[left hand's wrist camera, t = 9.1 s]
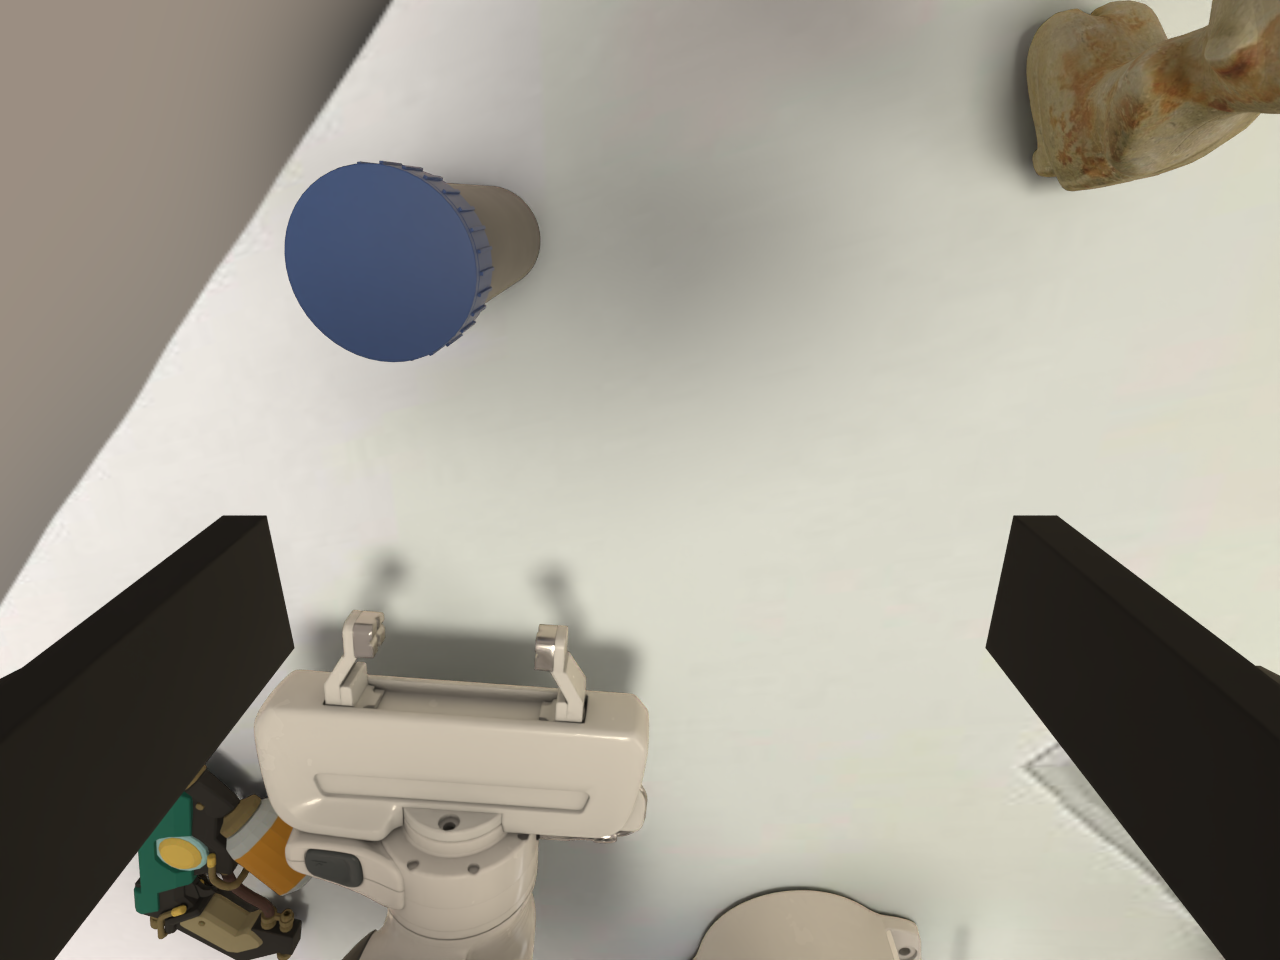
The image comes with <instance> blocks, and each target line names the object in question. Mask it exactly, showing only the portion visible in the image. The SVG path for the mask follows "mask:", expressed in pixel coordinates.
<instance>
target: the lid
mask: <svg viewBox="0 0 1280 960" xmlns="http://www.w3.org/2000/svg"><path fill="white" fill-rule="evenodd" d="M379 162H380V164H377V163H368V162H357V164H352V165H348V166H343V167H340V168H337V169H335V170H333V171H330V172H329V173H327V174H325V175H324V176H322V177H320V178H319V179H318V180H316V181H315V182H314V183H313V184H312V185H310V186H309V188H308V189H307V190H306V191H305V192H304V193H303V194H302V196H301V197H300V199H299V200H298V202H297V203H296V205H295V207H294V209H293V212H292V214H291V216H290V219H289V223H288V226H287V230H286V237H285V262H286V269H287V273H288V277H289V281H290V284H291V287H292V289H293V292H294V294H295V296H296V298H297V300H298V302H299V304H300V306H301V307H302V309H303V310H304V312H305V313H306V315H307V316H308V317H309V319H310V320H311V321H312V322H313V324H314V325H315V326H316V327H317V328H318V329H319V330H320V331H321V332H322V333H323V334H324V335H325V336H327V337H328V338H329V339H331V340H332V341H333V342H334V343H336V344H338V345H339V346H341V347H342V348H344V349H346V350H348V351H350V352H352V353H354V354H356V355H359V356H362V357H365V358H368V359H372V360H377V361H384V362H404V361H412V360H415V359H418V358H421V357H424V356H427V355H430V356H431V355H433V354H434V353H436V352H437V351H438V350H440V349H441V348H443V347H444V346H445V345H446V346H447V347H448V346H449V345H450V344H452V343H453V342H454V341H456V340H457V339H458V338H460V337H461V336H462V333H463V332H465V331H466V330H467V329H469V328H470V327H471V326H473V325H474V324H475V323H476V322H475V321H474V320H475V319H476V318H477V316H478V315H479V313H480V312H481V311H482V310H484V309H485V308H486V306H485V305H484V304H485V302H486V299H487V297H488V293H489V292H490V291H492V287H490V286H491V278H492V271H494V267H492V258H491V250H492V246H489V242H488V238H487V236H486V233H485V230H484V229H486V227H485V225H483V226H482V224H481V222H480V220H479V218H478V216H477V215H476V213H475V212H474V210H475V208H474V206H470V205H469V203H468V202H467V201H466V200H465V199H464V198H463V197H462V196H461V195H460V191H459V190H458V189H454V188H452V187H451V186H450V185H448V184H447V183H445V182H444V181H442V179H443V178H442V177H441V176H433V175H431V174H429V173H426V172H424V171H423V168H421V167H414V166H406V165H402V164H401V163H394V162H386V161H379Z"/></svg>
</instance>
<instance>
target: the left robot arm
mask: <svg viewBox="0 0 1280 960" xmlns="http://www.w3.org/2000/svg"><path fill="white" fill-rule="evenodd" d="M293 649H294V643H293V638H292V634H291V629H290V624H289V619H288V615H287V610H286V605H285V601H284V596H283V591H282V586H281V582H280V577H279V572H278V568H277V563H276V558H275V553H274V549H273V544H272V539H271V535H270V530H269V525H268V520H267V516H222V517H220V518H219V519H218V520H216V521H215V522H214V523H212V524H211V525H210V526H208V527H207V528H206V529H205V530H203V531H202V532H201V533H199V534H198V535H197V536H195V537H194V538H193V539H191V540H190V541H189V542H187V543H186V544H185V545H183V546H182V547H181V548H179V549H178V550H177V551H175V552H174V553H173V554H172V555H170V556H169V557H168V558H166V559H165V560H164V561H162V562H161V563H160V564H158V565H157V566H156V567H154V568H153V569H152V570H150V571H149V572H148V573H146V574H145V575H144V576H143V577H141V578H140V579H139V580H137V581H136V582H135V583H133V584H132V585H131V586H129V587H128V588H127V589H125V590H124V591H123V592H121V593H120V594H119V595H117V596H116V597H115V598H113V599H112V600H111V601H110V602H108V603H107V604H106V605H104V606H103V607H102V608H100V609H99V610H98V611H96V612H95V613H94V614H92V615H91V616H90V617H88V618H87V619H86V620H84V621H83V622H82V623H81V624H79V625H78V626H77V627H75V628H74V629H73V630H71V631H70V632H69V633H67V634H66V635H65V636H63V637H62V638H61V639H59V640H58V641H57V642H55V643H54V644H53V645H51V646H50V647H49V648H48V649H46V650H45V651H44V652H42V653H41V654H40V655H38V656H37V657H36V658H34V659H33V660H32V661H30V662H29V663H28V664H26V665H25V666H24V667H22V668H21V669H19V670H17V671H15V672H13V673H11V674H9V675H7V676H5V677H3V678H1V679H0V960H54V959H55V958H56V957H57V956H58V954H59V953H60V952H61V950H62V949H63V948H64V946H65V945H66V944H67V943H68V941H69V940H70V939H71V937H72V936H73V935H74V934H75V932H76V931H77V930H78V928H79V927H80V926H81V924H82V923H83V922H84V921H85V919H86V918H87V917H88V915H89V914H90V913H91V911H92V910H93V909H94V908H95V906H96V905H97V904H98V902H99V901H100V900H101V898H102V897H103V896H104V895H105V893H106V892H107V891H108V889H109V888H110V887H111V885H112V884H113V883H114V882H115V880H116V879H117V878H118V876H119V875H120V874H121V872H122V871H123V870H124V869H125V867H126V866H127V865H128V863H129V862H130V861H131V860H132V858H133V857H134V856H135V854H136V853H137V852H138V850H139V849H140V848H141V847H142V845H143V844H144V843H145V841H146V840H147V839H148V837H149V836H150V835H151V834H152V832H153V831H154V830H155V828H156V827H157V826H158V824H159V823H160V822H161V821H162V819H163V818H164V817H165V815H166V814H167V813H168V811H169V810H170V809H171V808H172V806H173V805H174V804H175V802H176V801H177V800H178V798H179V797H180V796H181V795H182V793H183V792H184V791H185V789H186V788H187V787H188V786H189V784H190V783H191V782H192V780H193V779H194V778H195V776H196V775H197V774H198V773H199V771H200V770H201V769H202V767H203V766H204V765H205V763H206V762H207V761H208V760H209V758H210V757H211V756H212V754H213V753H214V752H215V750H216V749H217V748H218V747H219V745H220V744H221V743H222V741H223V740H224V739H225V737H226V736H227V735H228V734H229V732H230V731H231V730H232V728H233V727H234V726H235V724H236V723H237V722H238V721H239V719H240V718H241V717H242V715H243V714H244V713H245V712H246V710H247V709H248V708H249V706H250V705H251V704H252V702H253V701H254V700H255V699H256V697H257V696H258V695H259V693H260V692H261V691H262V689H263V688H264V687H265V686H266V684H267V683H268V682H269V680H270V679H271V678H272V676H273V675H274V674H275V673H276V671H277V670H278V669H279V667H280V666H281V665H282V663H283V662H284V661H285V660H286V658H287V657H288V656H289V654H290V653H291V652H292V651H293ZM986 649H987V651H988V652H989V653H990V654H991V656H992V657H993V658H994V660H995V661H996V662H997V663H998V665H999V666H1000V667H1001V669H1002V670H1003V671H1004V673H1005V674H1006V675H1007V676H1008V678H1009V679H1010V680H1011V682H1012V683H1013V684H1014V686H1015V687H1016V688H1017V689H1018V691H1019V692H1020V693H1021V695H1022V696H1023V697H1024V699H1025V700H1026V701H1027V702H1028V704H1029V705H1030V706H1031V708H1032V709H1033V710H1034V712H1035V713H1036V714H1037V715H1038V717H1039V718H1040V719H1041V721H1042V722H1043V723H1044V725H1045V726H1046V727H1047V728H1048V730H1049V731H1050V732H1051V734H1052V735H1053V736H1054V737H1055V739H1056V740H1057V741H1058V743H1059V744H1060V745H1061V747H1062V748H1063V749H1064V750H1065V752H1066V753H1067V754H1068V756H1069V757H1070V758H1071V760H1072V761H1073V762H1074V763H1075V765H1076V766H1077V767H1078V769H1079V770H1080V771H1081V773H1082V774H1083V775H1084V776H1085V778H1086V779H1087V780H1088V782H1089V783H1090V784H1091V786H1092V787H1093V788H1094V789H1095V791H1096V792H1097V793H1098V795H1099V796H1100V797H1101V799H1102V800H1103V801H1104V802H1105V804H1106V805H1107V806H1108V808H1109V809H1110V810H1111V811H1112V813H1113V814H1114V815H1115V817H1116V818H1117V819H1118V821H1119V822H1120V823H1121V824H1122V826H1123V827H1124V828H1125V830H1126V831H1127V832H1128V834H1129V835H1130V836H1131V837H1132V839H1133V840H1134V841H1135V843H1136V844H1137V845H1138V847H1139V848H1140V849H1141V850H1142V852H1143V853H1144V854H1145V856H1146V857H1147V858H1148V860H1149V861H1150V862H1151V863H1152V865H1153V866H1154V867H1155V869H1156V870H1157V871H1158V872H1159V874H1160V875H1161V876H1162V878H1163V879H1164V880H1165V882H1166V883H1167V884H1168V885H1169V887H1170V888H1171V889H1172V891H1173V892H1174V893H1175V895H1176V896H1177V897H1178V898H1179V900H1180V901H1181V902H1182V904H1183V905H1184V906H1185V908H1186V909H1187V910H1188V911H1189V913H1190V914H1191V915H1192V917H1193V918H1194V919H1195V921H1196V922H1197V923H1198V924H1199V926H1200V927H1201V928H1202V930H1203V931H1204V932H1205V934H1206V935H1207V936H1208V937H1209V939H1210V940H1211V941H1212V943H1213V944H1214V945H1215V946H1216V948H1217V949H1218V950H1219V952H1220V953H1221V954H1222V956H1223V957H1224V958H1225V959H1226V960H1280V676H1279V675H1277V674H1275V673H1273V672H1271V671H1269V670H1267V669H1265V668H1263V667H1262V666H1255V665H1254V664H1252V663H1251V662H1250V661H1248V660H1247V659H1246V658H1244V657H1243V656H1242V655H1240V654H1239V653H1238V652H1236V651H1235V650H1234V649H1232V648H1231V647H1230V646H1229V645H1227V644H1226V643H1225V642H1223V641H1222V640H1221V639H1219V638H1218V637H1217V636H1215V635H1214V634H1213V633H1211V632H1210V631H1209V630H1207V629H1206V628H1205V627H1203V626H1202V625H1201V624H1199V623H1198V622H1197V621H1196V620H1194V619H1193V618H1192V617H1190V616H1189V615H1188V614H1186V613H1185V612H1184V611H1182V610H1181V609H1180V608H1178V607H1177V606H1176V605H1174V604H1173V603H1172V602H1170V601H1169V600H1168V599H1167V598H1165V597H1164V596H1163V595H1161V594H1160V593H1159V592H1157V591H1156V590H1155V589H1153V588H1152V587H1151V586H1149V585H1148V584H1147V583H1145V582H1144V581H1143V580H1141V579H1140V578H1139V577H1137V576H1136V575H1135V574H1134V573H1132V572H1131V571H1130V570H1128V569H1127V568H1126V567H1124V566H1123V565H1122V564H1120V563H1119V562H1118V561H1116V560H1115V559H1114V558H1112V557H1111V556H1110V555H1108V554H1107V553H1106V552H1105V551H1103V550H1102V549H1101V548H1099V547H1098V546H1097V545H1095V544H1094V543H1093V542H1091V541H1090V540H1089V539H1087V538H1086V537H1085V536H1083V535H1082V534H1081V533H1079V532H1078V531H1077V530H1075V529H1074V528H1073V527H1072V526H1070V525H1069V524H1068V523H1066V522H1065V521H1064V520H1062V519H1061V518H1060V517H1058V516H1013V520H1012V525H1011V530H1010V534H1009V539H1008V544H1007V549H1006V553H1005V558H1004V563H1003V568H1002V572H1001V577H1000V582H999V586H998V591H997V596H996V601H995V605H994V610H993V615H992V619H991V624H990V629H989V634H988V638H987V643H986Z"/></svg>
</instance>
